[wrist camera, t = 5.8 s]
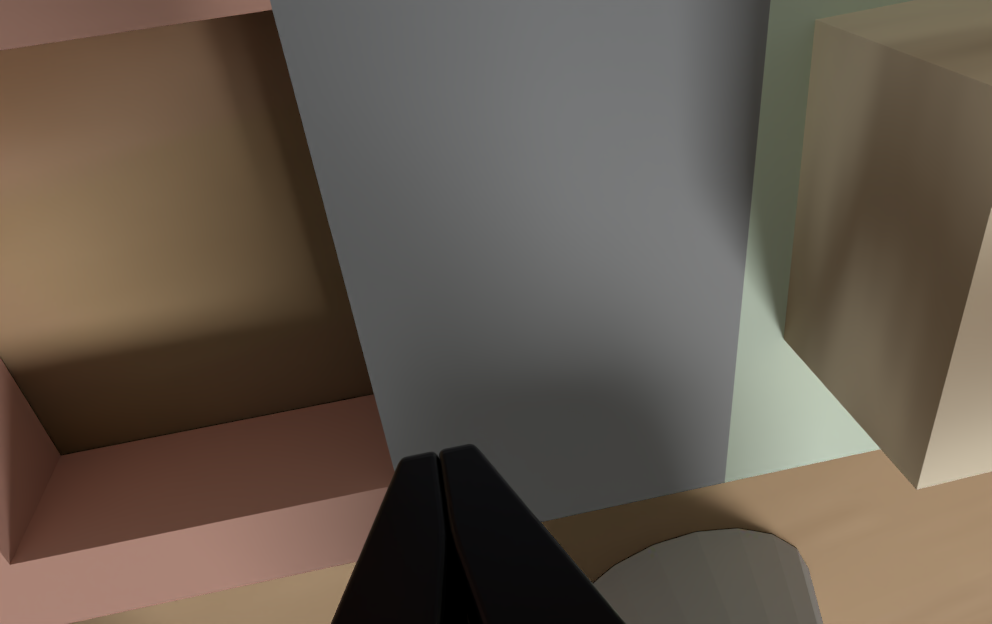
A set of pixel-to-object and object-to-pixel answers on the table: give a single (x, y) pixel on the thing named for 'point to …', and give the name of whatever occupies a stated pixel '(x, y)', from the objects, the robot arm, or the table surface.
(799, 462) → the pink rimmed tray
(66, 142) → the table surface
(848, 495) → the table surface
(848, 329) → the block
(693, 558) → the lava lamp
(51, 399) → the table surface
